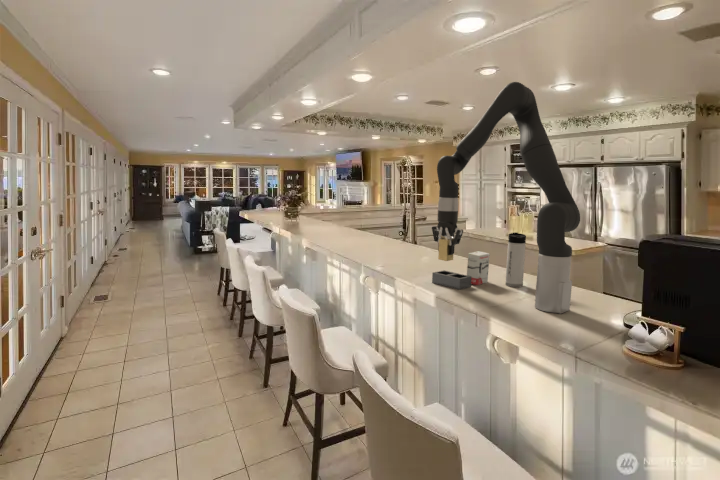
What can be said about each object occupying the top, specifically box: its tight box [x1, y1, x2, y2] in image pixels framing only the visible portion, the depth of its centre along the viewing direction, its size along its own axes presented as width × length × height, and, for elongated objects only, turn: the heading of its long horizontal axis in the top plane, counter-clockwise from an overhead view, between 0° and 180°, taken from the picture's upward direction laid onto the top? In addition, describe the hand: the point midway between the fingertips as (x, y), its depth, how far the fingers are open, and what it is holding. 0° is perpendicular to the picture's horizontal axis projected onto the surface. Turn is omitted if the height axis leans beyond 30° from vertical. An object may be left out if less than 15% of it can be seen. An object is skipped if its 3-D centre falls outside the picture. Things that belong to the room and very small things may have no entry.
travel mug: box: [505, 232, 527, 288], centre depth 157 cm, size 6×7×20 cm
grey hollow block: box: [431, 269, 472, 291], centre depth 157 cm, size 13×7×4 cm, turn 40°
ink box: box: [466, 250, 491, 286], centre depth 161 cm, size 8×5×12 cm, turn 134°
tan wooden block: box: [437, 237, 454, 262], centre depth 158 cm, size 4×4×8 cm
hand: (445, 253), depth 158 cm, fingers closed on tan wooden block, 4 cm apart
